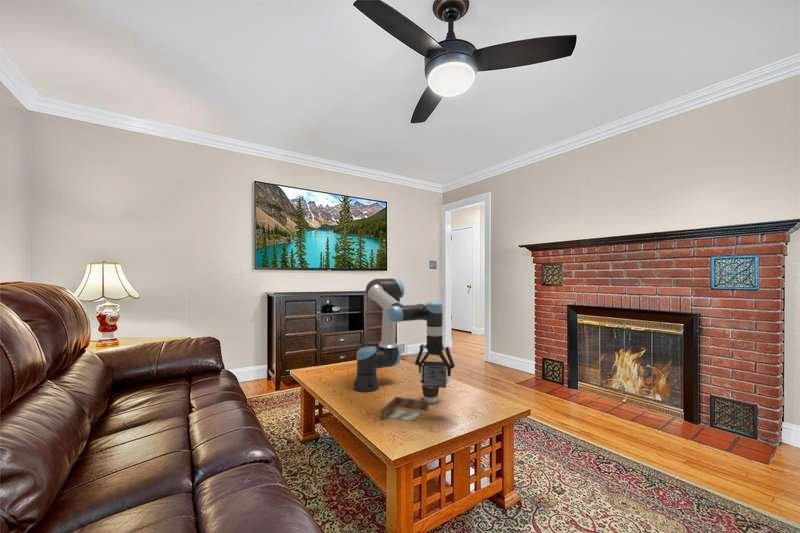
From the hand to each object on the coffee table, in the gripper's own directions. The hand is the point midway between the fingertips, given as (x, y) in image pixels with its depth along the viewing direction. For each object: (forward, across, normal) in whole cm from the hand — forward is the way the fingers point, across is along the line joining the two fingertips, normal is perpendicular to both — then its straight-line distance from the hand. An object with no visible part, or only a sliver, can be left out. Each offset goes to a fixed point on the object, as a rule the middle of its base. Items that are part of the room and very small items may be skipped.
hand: (434, 381), depth 155 cm
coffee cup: (+17, -7, +18) cm, 25 cm away
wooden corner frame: (+17, -14, -2) cm, 22 cm away
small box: (+2, 0, 0) cm, 2 cm away
